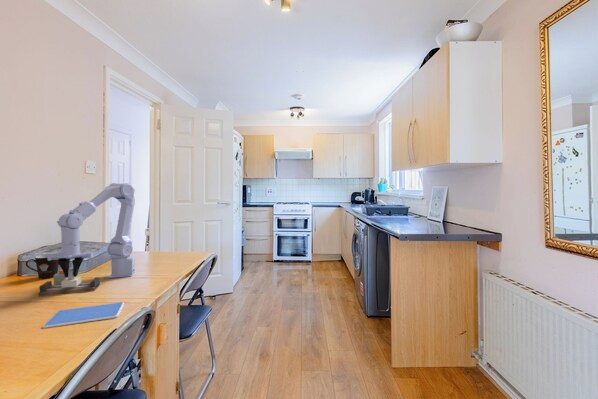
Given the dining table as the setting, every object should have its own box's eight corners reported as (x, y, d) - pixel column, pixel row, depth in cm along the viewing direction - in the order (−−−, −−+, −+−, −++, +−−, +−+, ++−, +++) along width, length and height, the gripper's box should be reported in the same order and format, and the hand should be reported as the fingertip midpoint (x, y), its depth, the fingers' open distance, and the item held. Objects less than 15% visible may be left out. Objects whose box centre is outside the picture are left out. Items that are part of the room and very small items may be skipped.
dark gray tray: (100, 284, 122) (100, 276, 122) (94, 290, 114) (94, 282, 114) (48, 289, 115) (48, 280, 115) (38, 296, 108) (38, 287, 108)
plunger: (71, 277, 124) (71, 267, 124) (68, 280, 120) (68, 270, 120) (62, 278, 122) (62, 268, 122) (58, 280, 119) (58, 270, 119)
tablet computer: (41, 330, 83) (40, 326, 83) (58, 313, 95) (58, 309, 95) (117, 319, 91) (117, 315, 91) (124, 304, 102) (124, 301, 102)
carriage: (81, 282, 118) (81, 267, 118) (76, 286, 113) (76, 270, 113) (66, 283, 116) (66, 268, 116) (61, 287, 112) (61, 271, 111)
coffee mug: (65, 274, 135) (64, 254, 134) (47, 280, 126) (46, 258, 126) (43, 273, 136) (42, 253, 136) (24, 279, 127) (23, 257, 127)
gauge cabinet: (76, 281, 125) (76, 270, 125) (71, 285, 120) (71, 274, 120) (60, 282, 123) (59, 271, 123) (53, 287, 118) (53, 275, 118)
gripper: (43, 246, 108) (44, 281, 108) (88, 244, 113) (89, 277, 114) (52, 242, 115) (52, 275, 115) (94, 240, 120) (94, 272, 120)
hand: (71, 276), depth 115 cm, fingers closed on carriage, 2 cm apart
